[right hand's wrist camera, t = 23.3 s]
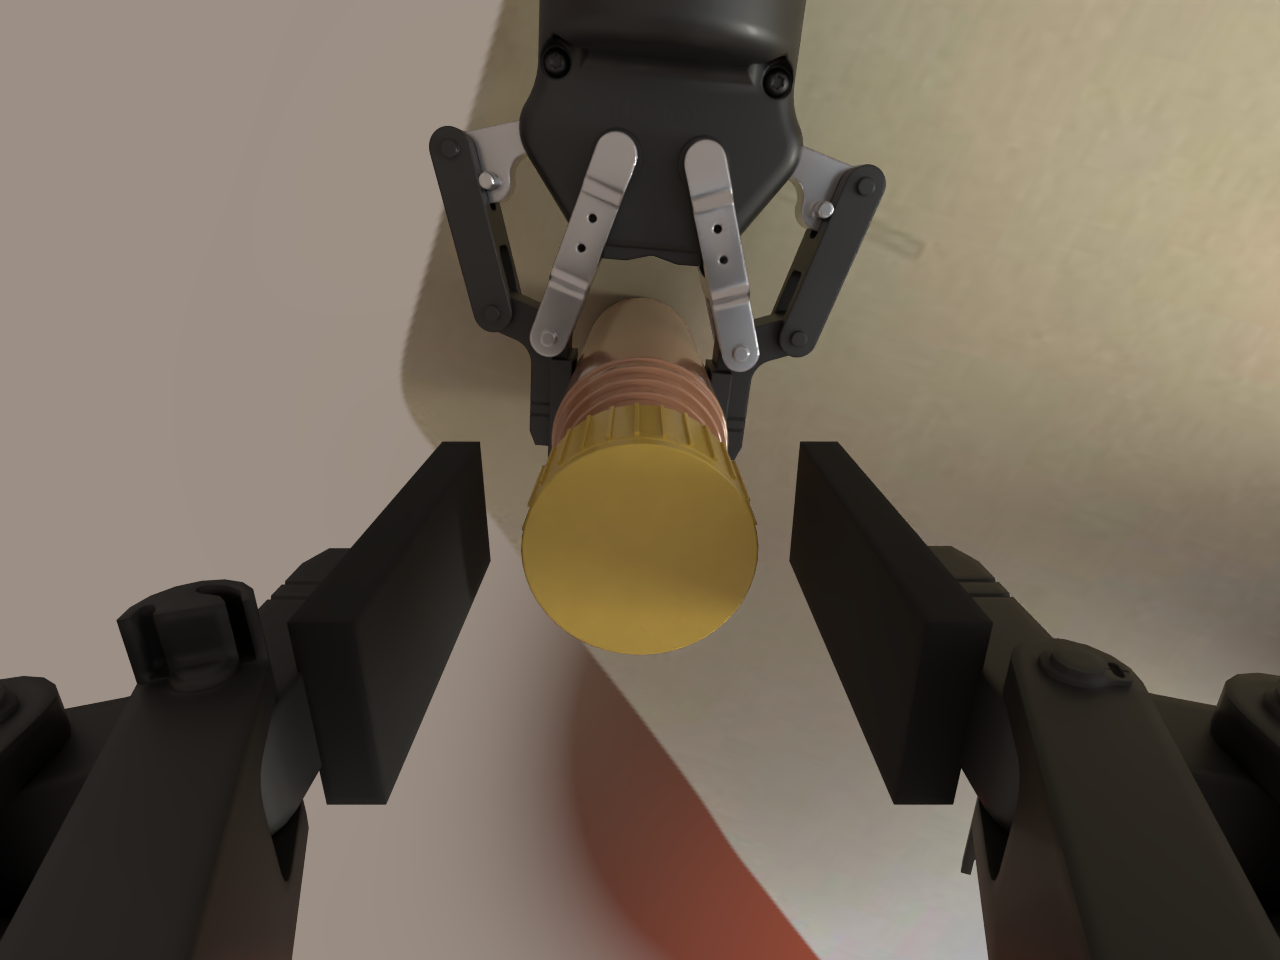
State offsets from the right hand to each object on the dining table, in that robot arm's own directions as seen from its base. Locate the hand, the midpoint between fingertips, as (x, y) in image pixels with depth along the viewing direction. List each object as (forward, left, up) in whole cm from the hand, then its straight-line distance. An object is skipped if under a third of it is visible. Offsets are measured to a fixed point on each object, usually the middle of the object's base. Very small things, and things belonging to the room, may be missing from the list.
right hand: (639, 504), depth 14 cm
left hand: (+2, +2, -10) cm, 11 cm away
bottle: (0, 0, -17) cm, 17 cm away
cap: (0, 0, +2) cm, 2 cm away
